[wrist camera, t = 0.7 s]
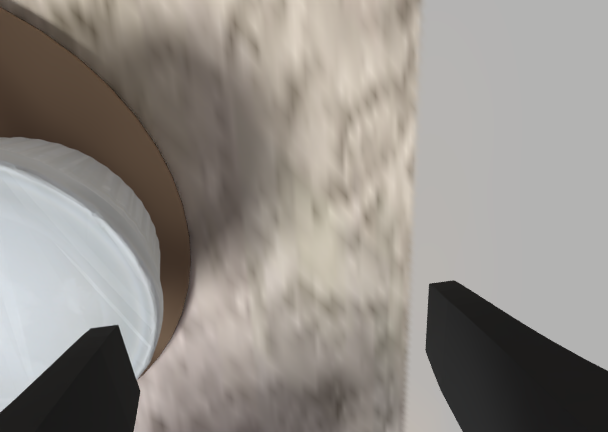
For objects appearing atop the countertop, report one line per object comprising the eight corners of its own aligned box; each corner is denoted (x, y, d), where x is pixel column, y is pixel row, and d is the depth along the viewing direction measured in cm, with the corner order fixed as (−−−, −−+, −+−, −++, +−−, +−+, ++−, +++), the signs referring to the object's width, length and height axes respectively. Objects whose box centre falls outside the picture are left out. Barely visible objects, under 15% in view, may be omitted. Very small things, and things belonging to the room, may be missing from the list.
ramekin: (-167, 187, 17) (-330, 251, 12) (79, 61, 16) (8, 78, 11) (25, 374, 22) (-39, 474, 17) (223, 284, 21) (216, 362, 16)
